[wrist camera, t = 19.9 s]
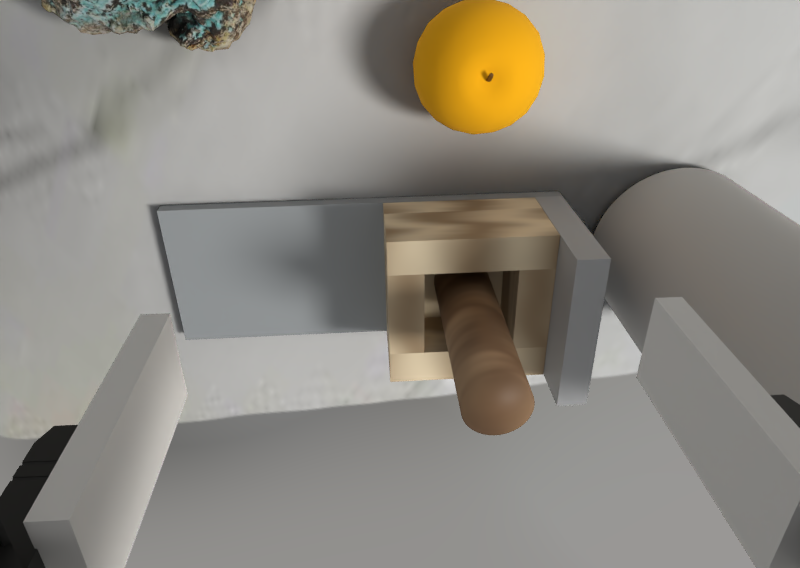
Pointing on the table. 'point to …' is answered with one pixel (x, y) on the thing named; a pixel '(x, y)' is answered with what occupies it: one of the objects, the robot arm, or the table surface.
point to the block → (462, 253)
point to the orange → (478, 66)
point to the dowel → (482, 355)
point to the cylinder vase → (709, 267)
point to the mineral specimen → (161, 18)
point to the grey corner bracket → (352, 274)
